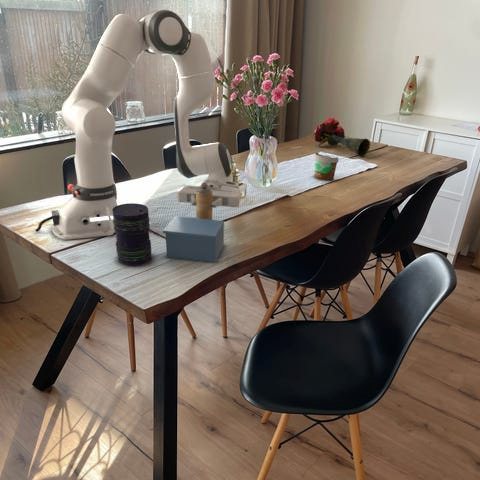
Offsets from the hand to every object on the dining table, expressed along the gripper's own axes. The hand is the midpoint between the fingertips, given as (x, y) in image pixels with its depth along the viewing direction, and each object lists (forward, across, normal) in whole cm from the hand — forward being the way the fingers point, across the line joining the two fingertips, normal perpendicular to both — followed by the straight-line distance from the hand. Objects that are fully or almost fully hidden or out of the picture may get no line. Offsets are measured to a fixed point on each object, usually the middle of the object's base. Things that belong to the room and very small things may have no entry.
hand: (203, 204), depth 150 cm
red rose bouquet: (-137, +44, +10) cm, 144 cm away
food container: (-78, +35, +11) cm, 86 cm away
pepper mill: (-1, 0, +7) cm, 7 cm away
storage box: (+11, 0, +11) cm, 15 cm away
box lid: (+11, 0, +4) cm, 12 cm away
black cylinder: (+20, -16, +11) cm, 28 cm away
